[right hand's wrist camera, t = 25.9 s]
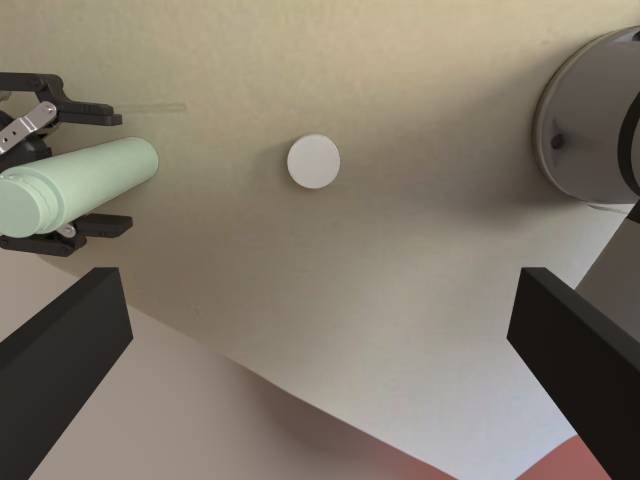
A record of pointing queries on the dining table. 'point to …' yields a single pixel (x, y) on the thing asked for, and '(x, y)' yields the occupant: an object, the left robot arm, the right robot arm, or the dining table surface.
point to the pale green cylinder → (71, 185)
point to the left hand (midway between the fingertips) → (123, 175)
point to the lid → (313, 161)
